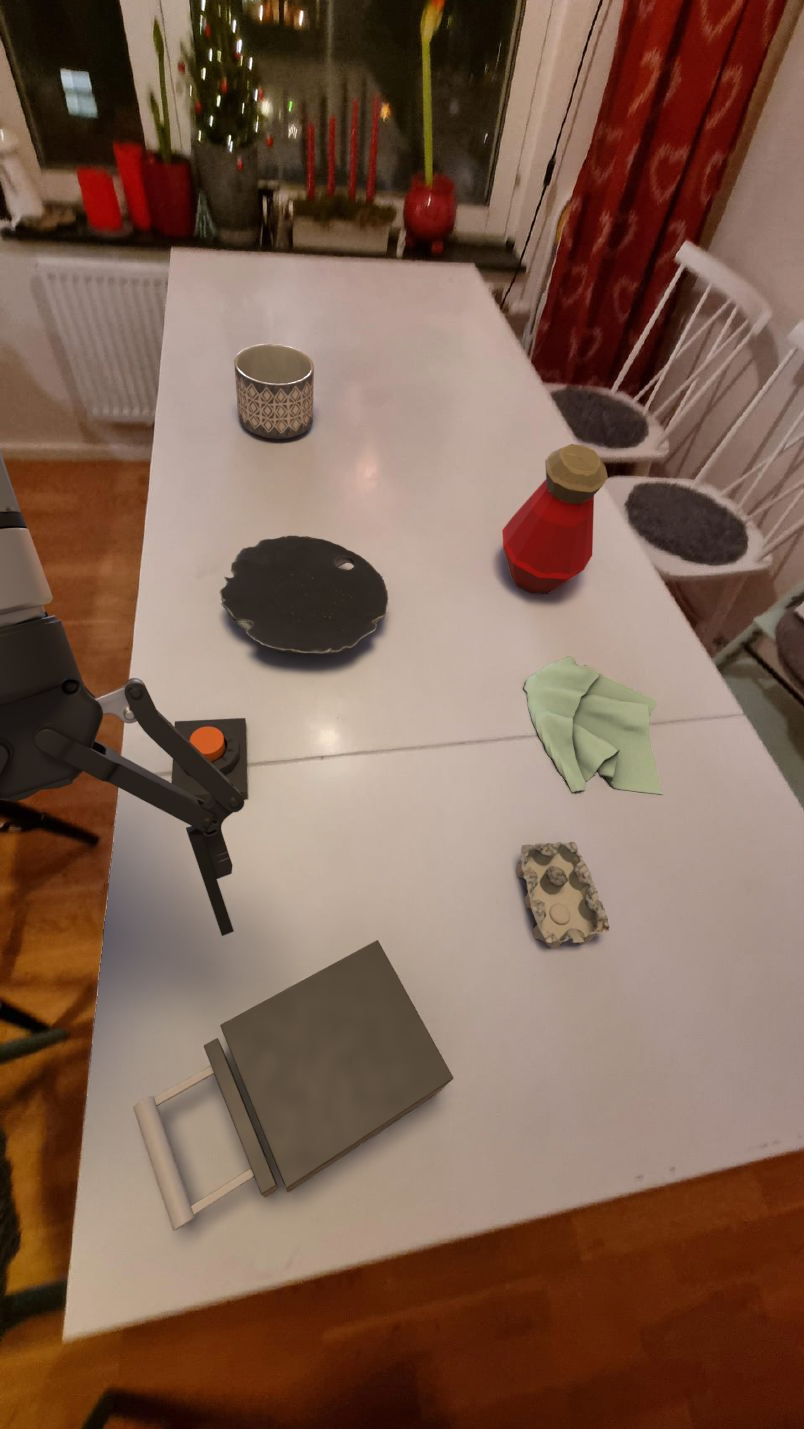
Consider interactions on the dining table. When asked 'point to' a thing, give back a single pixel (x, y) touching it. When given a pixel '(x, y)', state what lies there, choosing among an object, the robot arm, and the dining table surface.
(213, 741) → the button
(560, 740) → the cloth
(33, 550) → the robot arm
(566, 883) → the egg carton
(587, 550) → the bottle
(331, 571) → the board
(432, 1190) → the dining table surface
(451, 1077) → the grey drawer box
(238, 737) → the control block
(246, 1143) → the open sliding drawer
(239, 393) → the planter
